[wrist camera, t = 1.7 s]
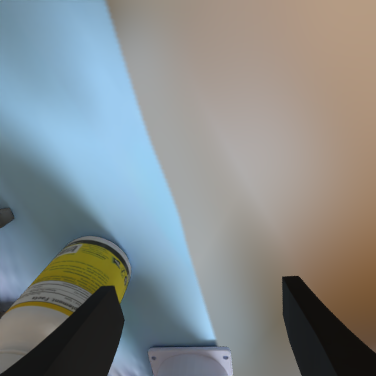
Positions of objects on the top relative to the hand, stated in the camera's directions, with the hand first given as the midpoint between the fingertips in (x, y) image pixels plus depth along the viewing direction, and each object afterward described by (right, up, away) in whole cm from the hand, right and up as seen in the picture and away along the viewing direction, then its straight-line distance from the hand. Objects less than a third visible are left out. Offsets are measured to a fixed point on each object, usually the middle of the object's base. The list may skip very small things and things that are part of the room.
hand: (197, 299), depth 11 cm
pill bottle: (-8, -2, +12) cm, 14 cm away
